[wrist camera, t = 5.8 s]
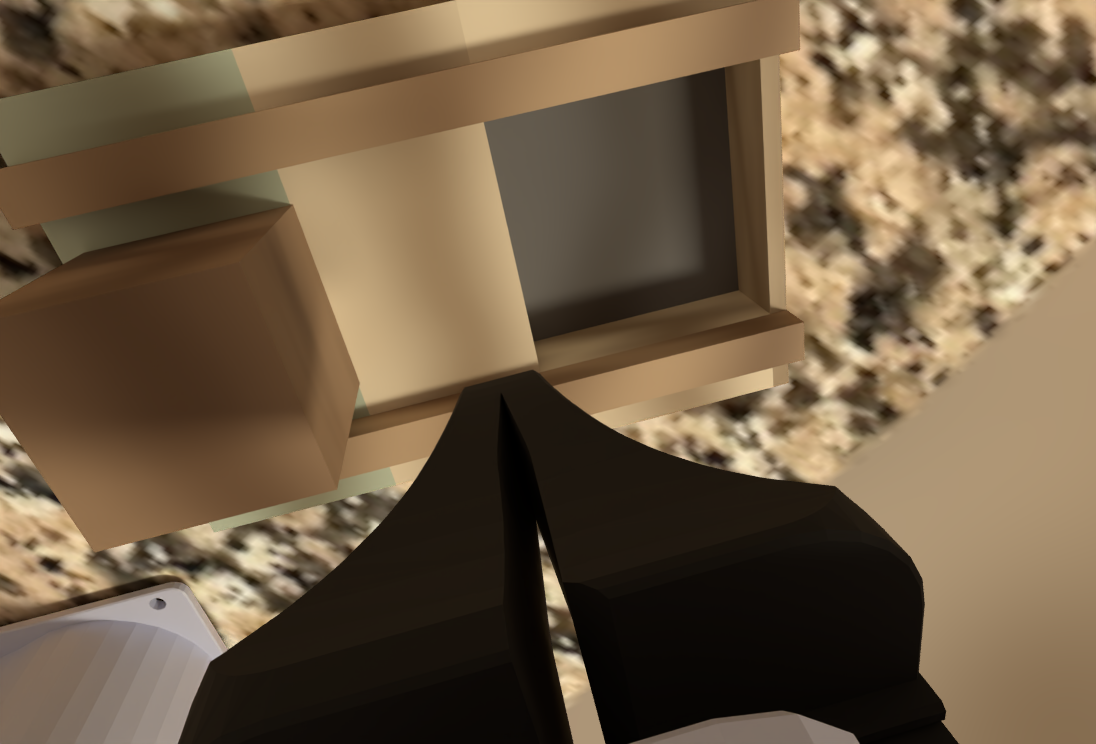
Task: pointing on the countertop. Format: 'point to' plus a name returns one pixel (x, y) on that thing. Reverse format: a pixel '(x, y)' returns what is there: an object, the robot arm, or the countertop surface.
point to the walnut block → (179, 378)
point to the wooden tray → (467, 198)
